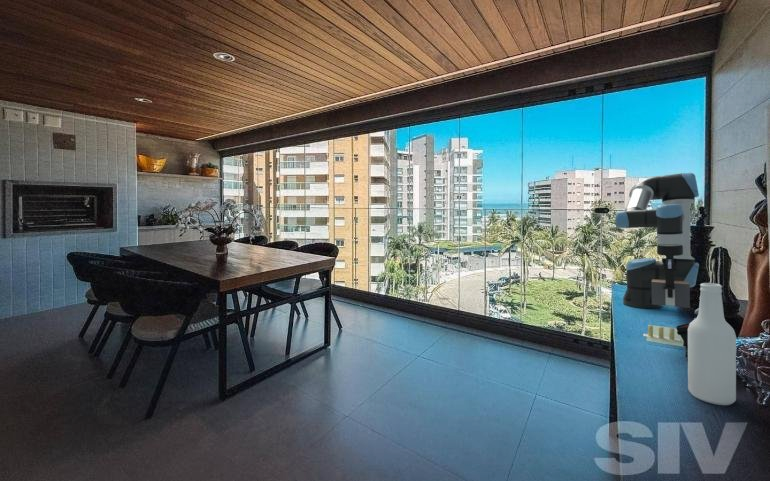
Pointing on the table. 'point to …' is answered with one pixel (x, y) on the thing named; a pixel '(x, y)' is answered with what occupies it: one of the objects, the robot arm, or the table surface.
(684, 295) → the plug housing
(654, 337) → the header board
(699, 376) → the alcohol
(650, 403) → the table surface
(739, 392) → the table surface
